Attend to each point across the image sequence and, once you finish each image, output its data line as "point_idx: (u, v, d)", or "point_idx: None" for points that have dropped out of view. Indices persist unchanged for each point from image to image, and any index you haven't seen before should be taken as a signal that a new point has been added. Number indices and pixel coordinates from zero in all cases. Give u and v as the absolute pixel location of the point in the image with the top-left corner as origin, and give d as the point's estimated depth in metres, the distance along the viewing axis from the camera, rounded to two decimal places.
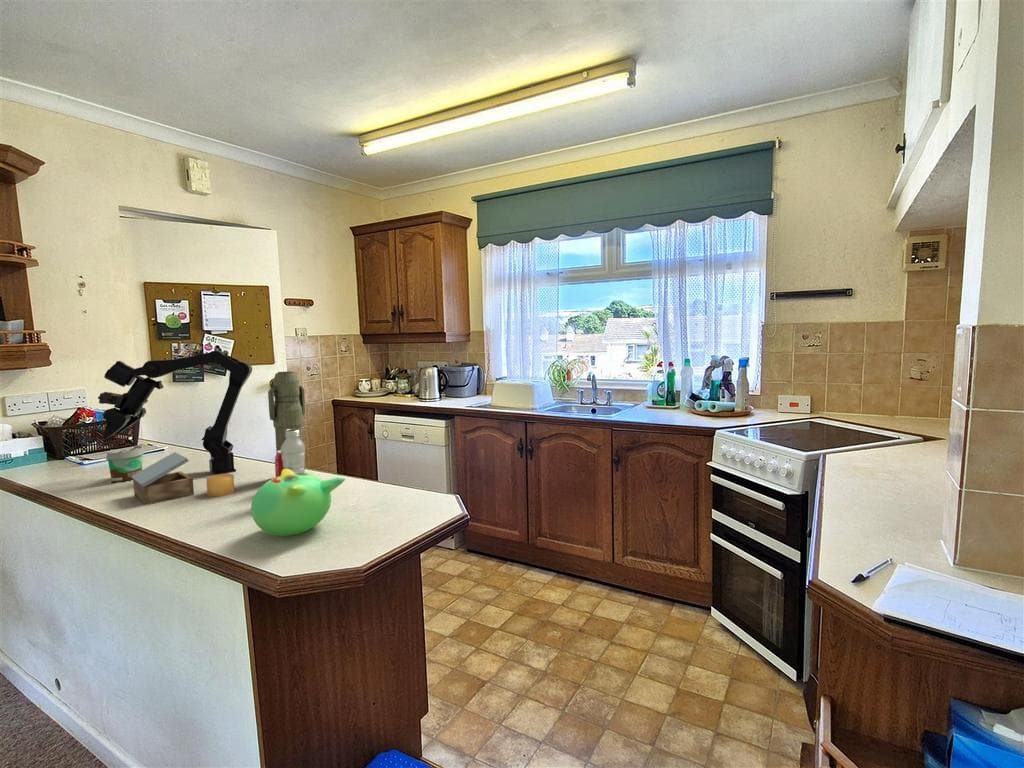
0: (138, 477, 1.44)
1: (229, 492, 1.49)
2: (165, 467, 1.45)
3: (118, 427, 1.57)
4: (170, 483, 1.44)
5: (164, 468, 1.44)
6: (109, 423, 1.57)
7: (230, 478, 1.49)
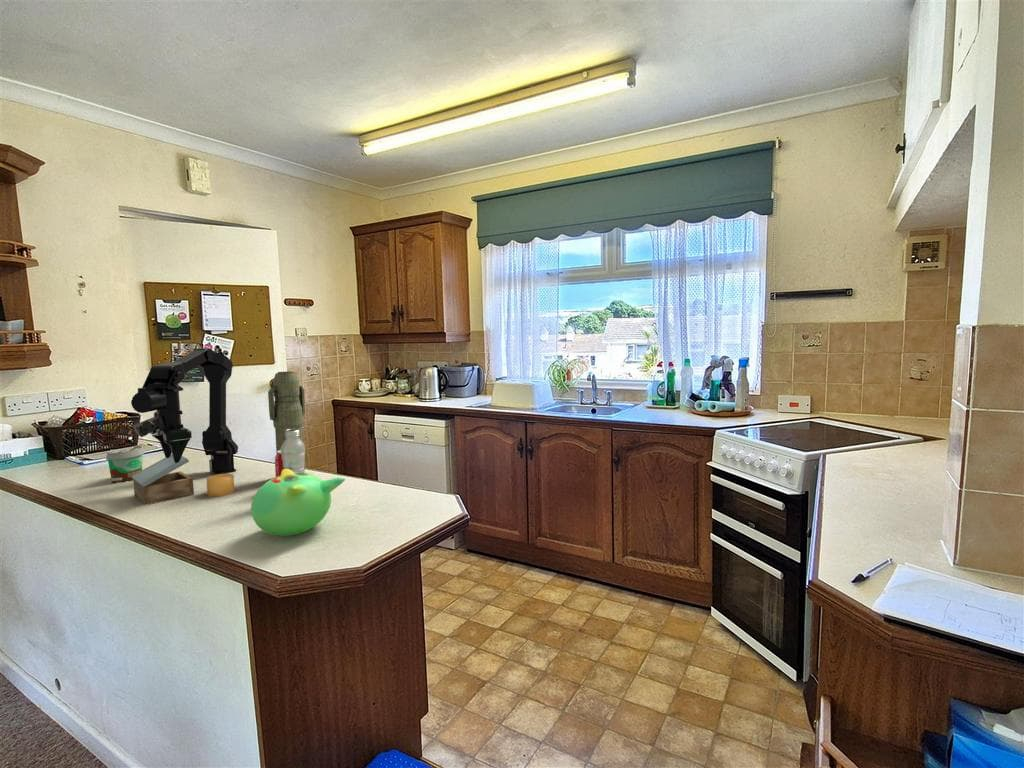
0: (138, 477, 1.44)
1: (229, 492, 1.49)
2: (165, 467, 1.45)
3: (185, 444, 1.45)
4: (170, 483, 1.44)
5: (164, 468, 1.44)
6: (173, 445, 1.44)
7: (230, 478, 1.49)
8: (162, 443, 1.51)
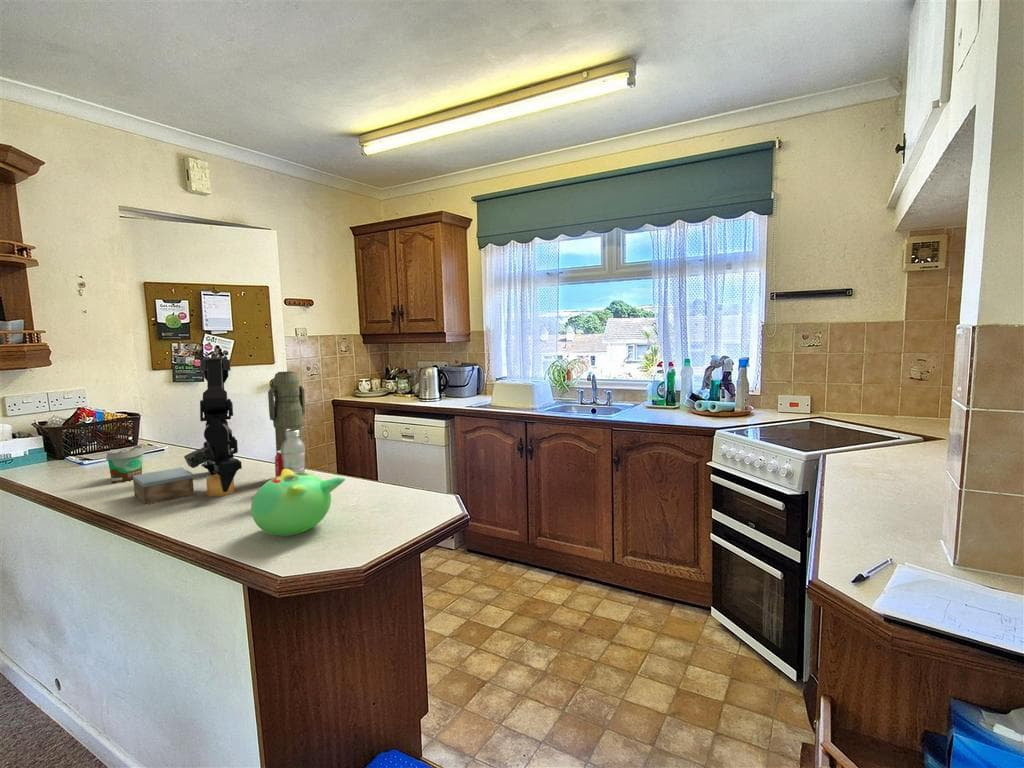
0: (140, 478, 1.44)
1: (229, 491, 1.49)
2: (170, 476, 1.46)
3: (233, 473, 1.47)
4: (170, 483, 1.44)
5: (169, 476, 1.45)
6: (223, 475, 1.45)
7: None
8: (211, 473, 1.51)
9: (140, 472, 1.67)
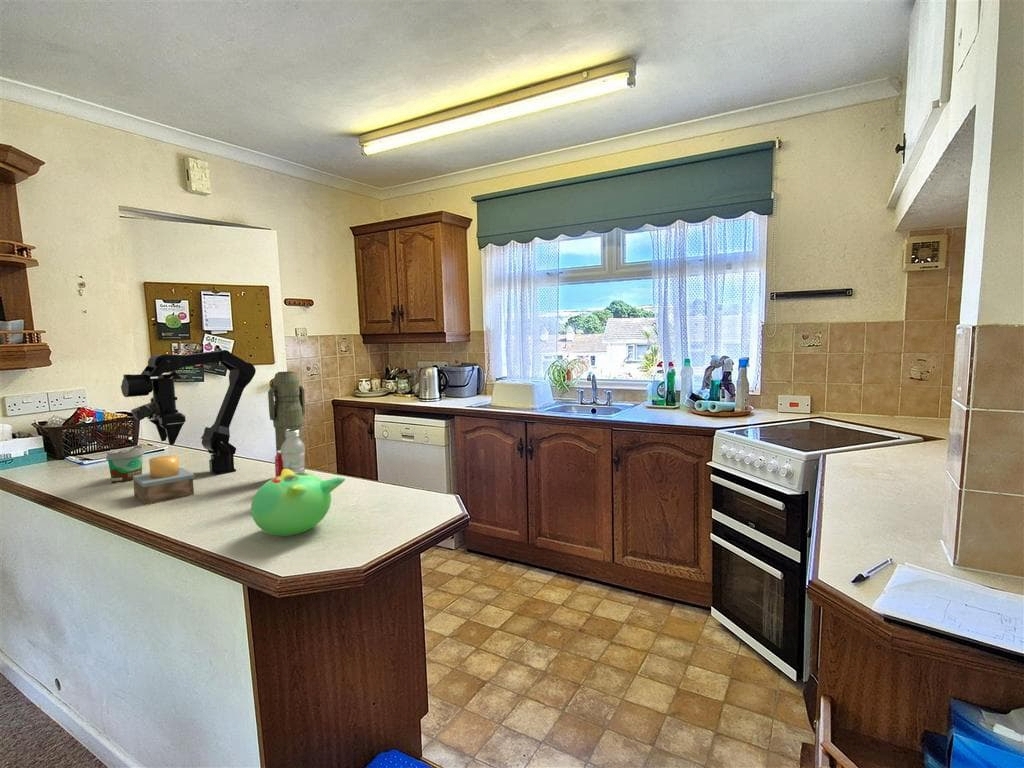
0: (140, 478, 1.44)
1: (172, 473, 1.46)
2: None
3: (179, 427, 1.56)
4: (170, 483, 1.44)
5: None
6: (168, 429, 1.54)
7: (174, 460, 1.47)
8: (158, 427, 1.62)
9: (140, 472, 1.67)
